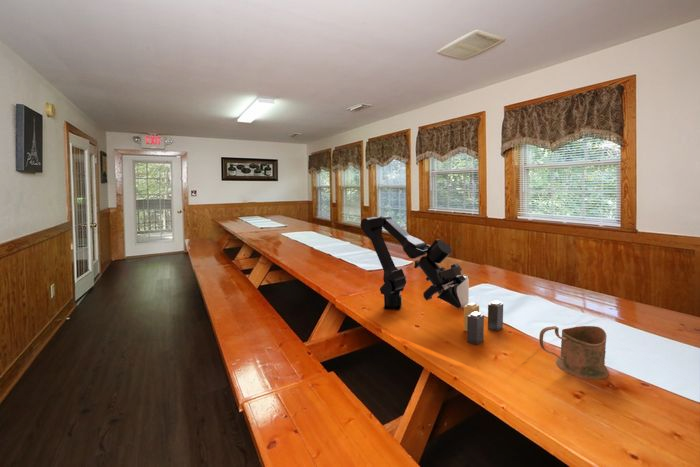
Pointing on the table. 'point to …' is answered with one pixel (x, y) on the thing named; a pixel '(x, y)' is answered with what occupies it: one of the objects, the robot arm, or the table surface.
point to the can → (463, 291)
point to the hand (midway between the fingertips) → (460, 307)
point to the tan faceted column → (469, 312)
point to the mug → (581, 351)
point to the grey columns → (477, 322)
